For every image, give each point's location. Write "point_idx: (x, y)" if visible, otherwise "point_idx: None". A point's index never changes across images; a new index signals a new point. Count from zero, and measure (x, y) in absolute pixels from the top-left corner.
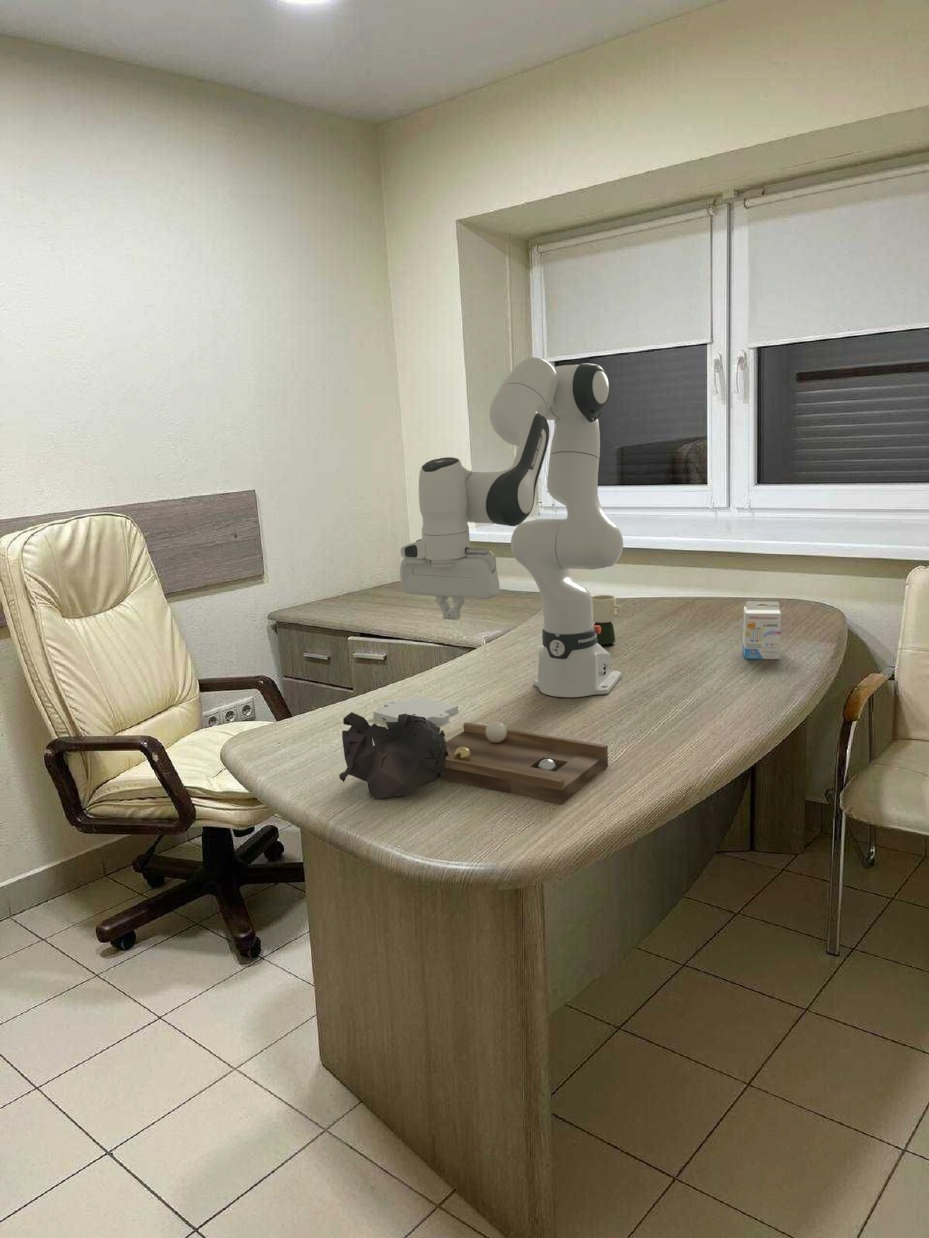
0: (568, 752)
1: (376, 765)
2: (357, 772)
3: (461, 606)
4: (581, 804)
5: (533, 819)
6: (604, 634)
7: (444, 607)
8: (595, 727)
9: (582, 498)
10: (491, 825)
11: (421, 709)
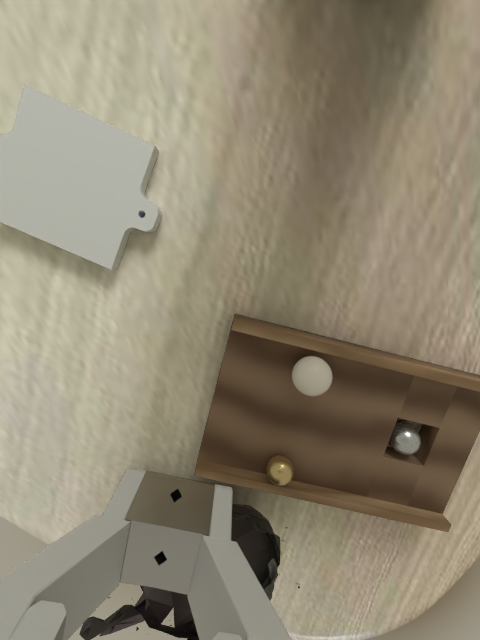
0: (436, 392)
1: None
2: None
3: (249, 576)
4: (450, 498)
5: (396, 544)
6: None
7: (99, 600)
8: (453, 196)
9: None
10: (350, 565)
11: (84, 183)
